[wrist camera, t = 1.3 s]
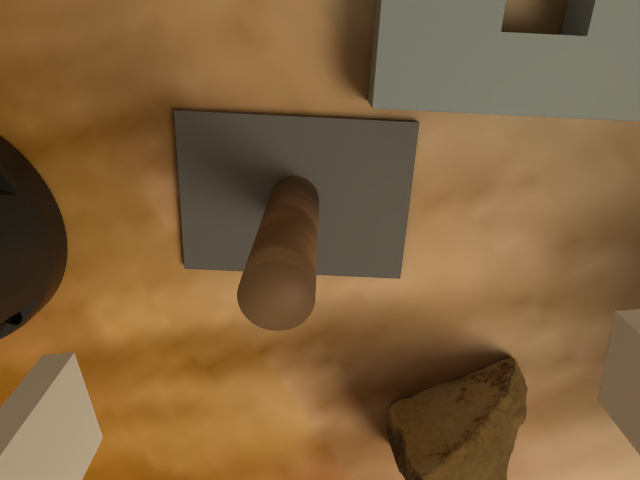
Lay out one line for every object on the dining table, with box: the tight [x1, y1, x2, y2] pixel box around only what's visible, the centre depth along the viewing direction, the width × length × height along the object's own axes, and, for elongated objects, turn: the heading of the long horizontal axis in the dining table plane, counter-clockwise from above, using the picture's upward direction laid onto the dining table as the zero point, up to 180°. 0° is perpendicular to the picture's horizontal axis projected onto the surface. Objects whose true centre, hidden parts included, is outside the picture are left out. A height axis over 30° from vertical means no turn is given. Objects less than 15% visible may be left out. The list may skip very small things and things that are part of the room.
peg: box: [237, 176, 319, 331], centre depth 24 cm, size 3×3×12 cm
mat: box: [174, 110, 419, 279], centre depth 30 cm, size 14×10×1 cm
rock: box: [387, 358, 527, 480], centre depth 33 cm, size 11×9×10 cm
